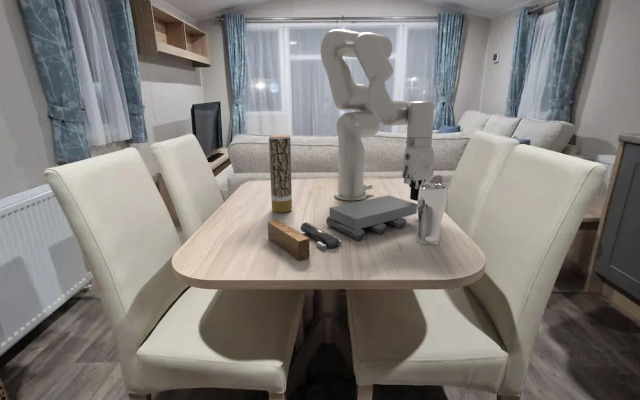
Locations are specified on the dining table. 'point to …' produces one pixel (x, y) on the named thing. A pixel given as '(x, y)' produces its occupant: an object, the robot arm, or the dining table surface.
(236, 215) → the dining table surface
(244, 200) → the dining table surface
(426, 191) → the beer glass
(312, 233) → the roller
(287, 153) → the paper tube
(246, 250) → the dining table surface
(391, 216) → the slab
